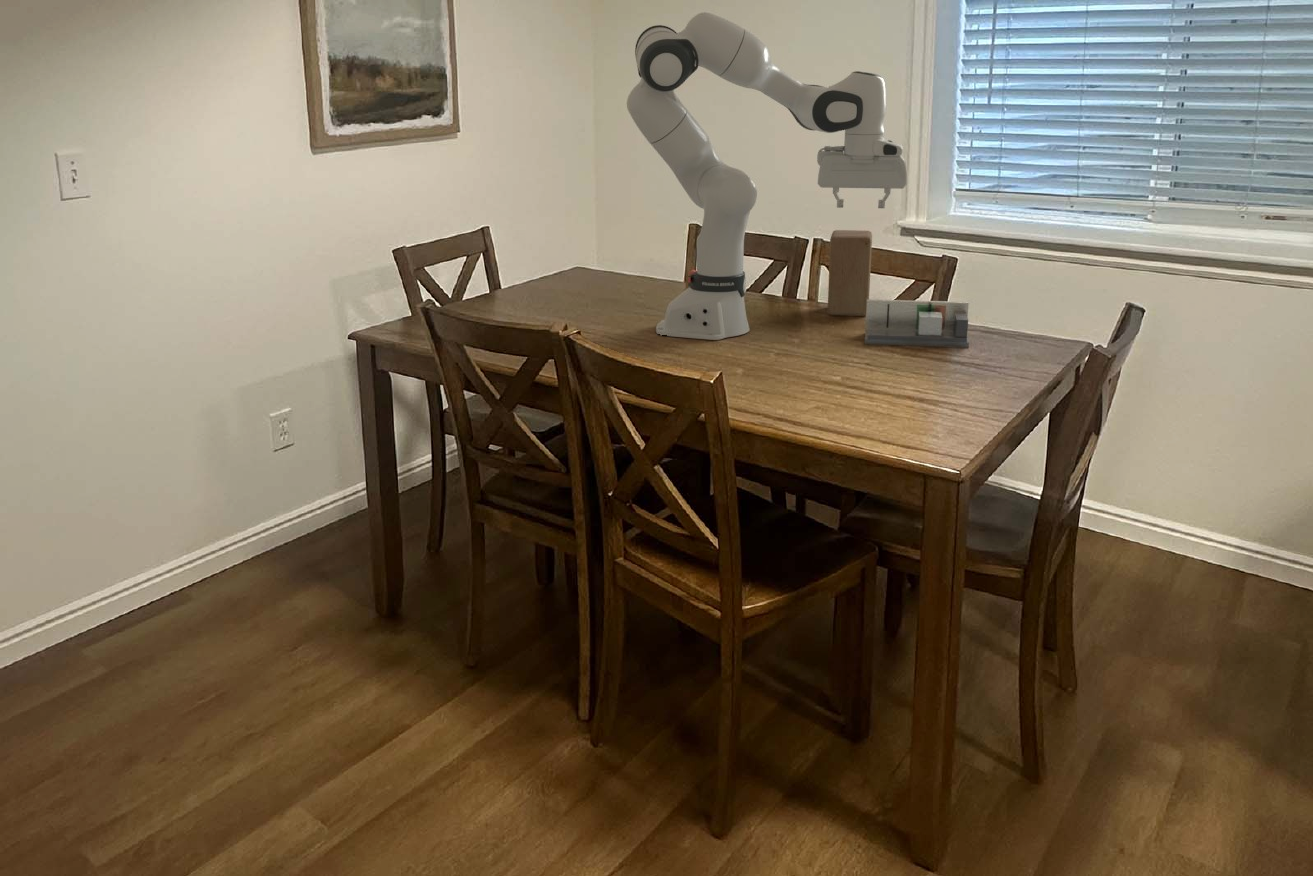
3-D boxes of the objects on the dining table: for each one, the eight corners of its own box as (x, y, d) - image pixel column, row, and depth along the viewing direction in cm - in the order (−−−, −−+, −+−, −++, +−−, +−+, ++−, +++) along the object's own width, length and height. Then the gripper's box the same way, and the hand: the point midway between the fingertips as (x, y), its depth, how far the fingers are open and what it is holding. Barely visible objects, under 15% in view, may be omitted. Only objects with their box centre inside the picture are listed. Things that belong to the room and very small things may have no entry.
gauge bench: (864, 344, 257) (866, 309, 254) (865, 333, 266) (866, 299, 263) (968, 347, 253) (971, 311, 250) (965, 335, 262) (968, 301, 259)
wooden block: (867, 317, 280) (871, 237, 273) (827, 316, 282) (830, 236, 275) (868, 307, 290) (872, 229, 283) (829, 306, 291) (832, 229, 284)
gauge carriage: (918, 338, 255) (920, 310, 253) (917, 330, 261) (919, 303, 259) (940, 339, 254) (942, 311, 252) (939, 331, 260) (941, 304, 258)
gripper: (817, 147, 255) (814, 208, 260) (909, 148, 251) (905, 210, 256) (818, 144, 261) (816, 204, 265) (908, 145, 257) (904, 206, 262)
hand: (860, 207), depth 261 cm, fingers open, 8 cm apart
